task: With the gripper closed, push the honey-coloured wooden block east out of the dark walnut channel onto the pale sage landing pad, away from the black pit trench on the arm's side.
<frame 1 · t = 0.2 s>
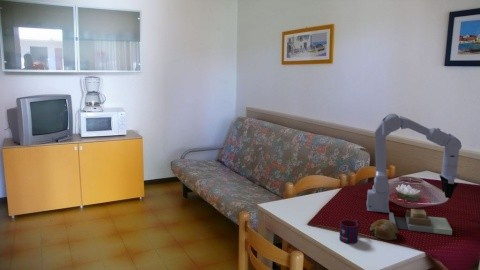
hand: (446, 194, 161), 10 cm above the table, tool pointing down, fingers open, 7 cm apart
mug: (351, 239, 143), on the table
wooden block: (417, 220, 154), point 2 cm above the table, touching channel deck
bread roll: (383, 235, 146), on the table
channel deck: (417, 225, 154), on the table
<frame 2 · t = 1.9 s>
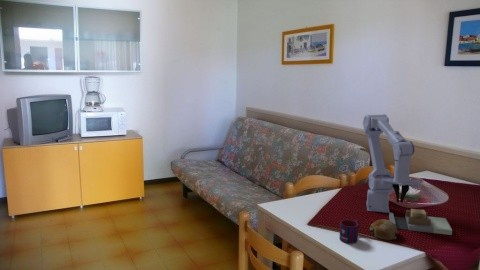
hand: (399, 201, 155), 9 cm above the table, tool pointing down, fingers closed
nothing on the table moved.
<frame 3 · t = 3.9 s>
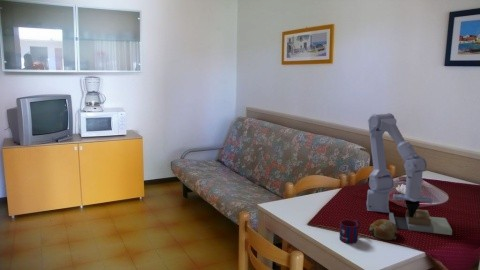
hand: (410, 217, 154), 3 cm above the table, tool pointing down, fingers closed
wooden block: (420, 221, 153), point 2 cm above the table, touching gripper
everything else where it was.
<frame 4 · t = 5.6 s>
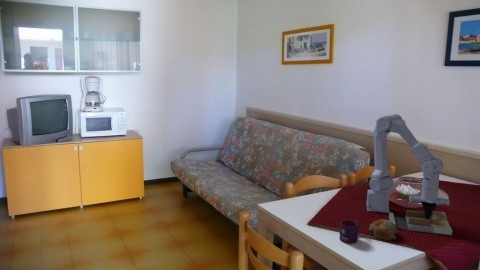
hand: (427, 219, 153), 3 cm above the table, tool pointing down, fingers closed
wooden block: (437, 222, 152), point 2 cm above the table, touching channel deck, gripper
everything else where it was.
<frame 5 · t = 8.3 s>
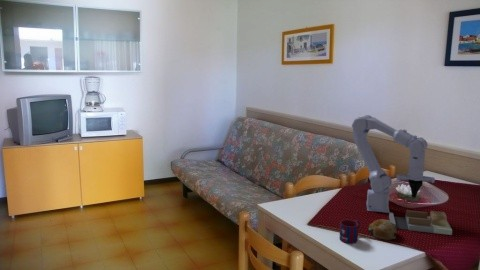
hand: (413, 196, 160), 9 cm above the table, tool pointing down, fingers closed
wooden block: (437, 222, 152), point 2 cm above the table, touching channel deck
everything else where it was.
at the end: wooden block 0.6 cm from the target spot, point 2.0 cm above the table; wooden block tilted 0°; wooden block moved 7.4 cm from its start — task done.
